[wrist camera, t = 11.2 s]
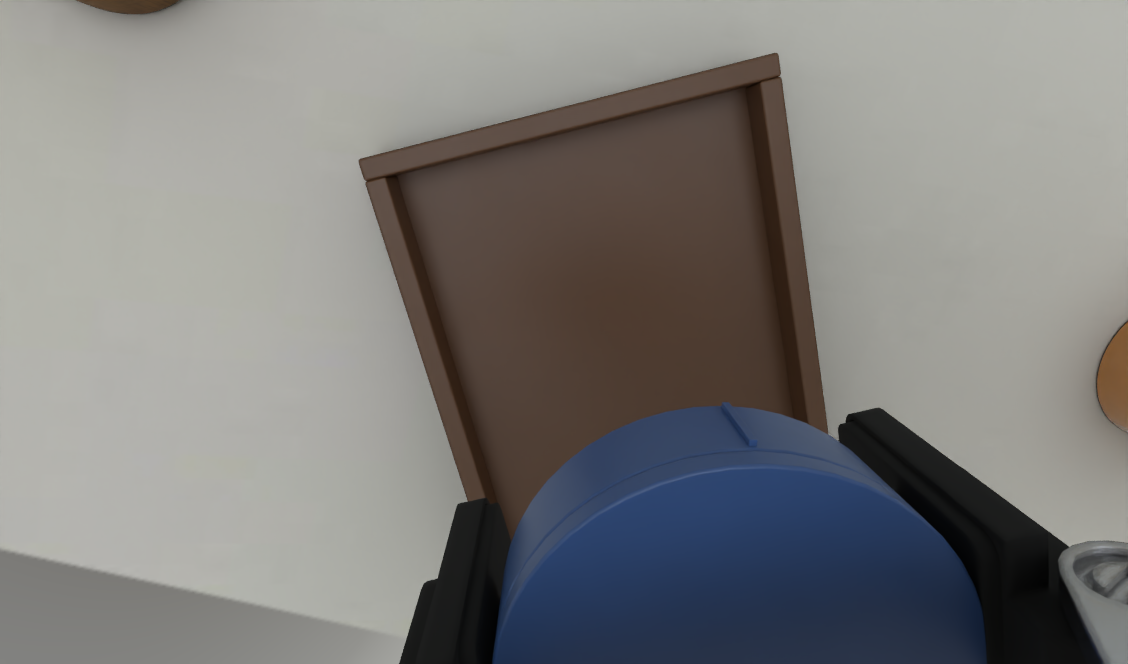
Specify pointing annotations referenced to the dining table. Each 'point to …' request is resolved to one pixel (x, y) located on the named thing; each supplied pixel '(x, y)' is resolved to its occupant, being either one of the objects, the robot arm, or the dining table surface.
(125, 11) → the mortar and pestle
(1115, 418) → the jar
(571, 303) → the tray
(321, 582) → the dining table surface
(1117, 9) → the dining table surface
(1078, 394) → the dining table surface
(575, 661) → the lid
